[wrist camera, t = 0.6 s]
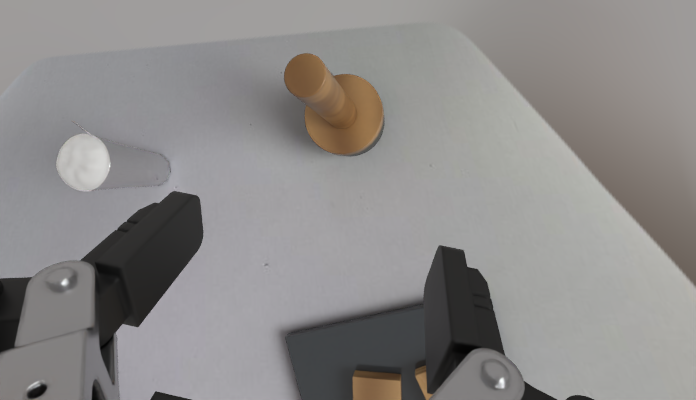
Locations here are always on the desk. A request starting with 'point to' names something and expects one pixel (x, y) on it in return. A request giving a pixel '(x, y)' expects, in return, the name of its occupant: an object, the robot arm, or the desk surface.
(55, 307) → the robot arm
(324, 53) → the desk surface
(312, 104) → the brush
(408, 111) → the desk surface
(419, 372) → the chip
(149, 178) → the milkshake
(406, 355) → the tile
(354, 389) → the chip
